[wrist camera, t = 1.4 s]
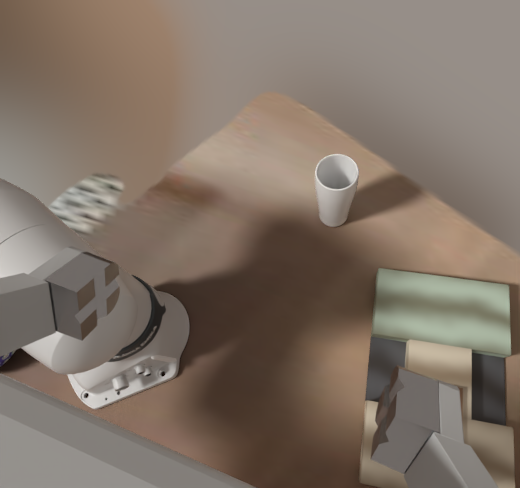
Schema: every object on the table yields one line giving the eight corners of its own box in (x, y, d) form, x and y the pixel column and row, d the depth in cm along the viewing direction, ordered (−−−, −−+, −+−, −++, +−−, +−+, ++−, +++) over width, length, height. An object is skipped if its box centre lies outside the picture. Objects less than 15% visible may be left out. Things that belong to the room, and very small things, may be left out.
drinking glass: (307, 218, 79) (305, 175, 65) (329, 192, 80) (332, 145, 66) (336, 238, 76) (341, 199, 63) (359, 212, 78) (368, 167, 64)
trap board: (506, 512, 58) (516, 517, 55) (358, 480, 62) (360, 483, 59) (501, 290, 69) (509, 284, 67) (376, 273, 73) (378, 268, 70)
